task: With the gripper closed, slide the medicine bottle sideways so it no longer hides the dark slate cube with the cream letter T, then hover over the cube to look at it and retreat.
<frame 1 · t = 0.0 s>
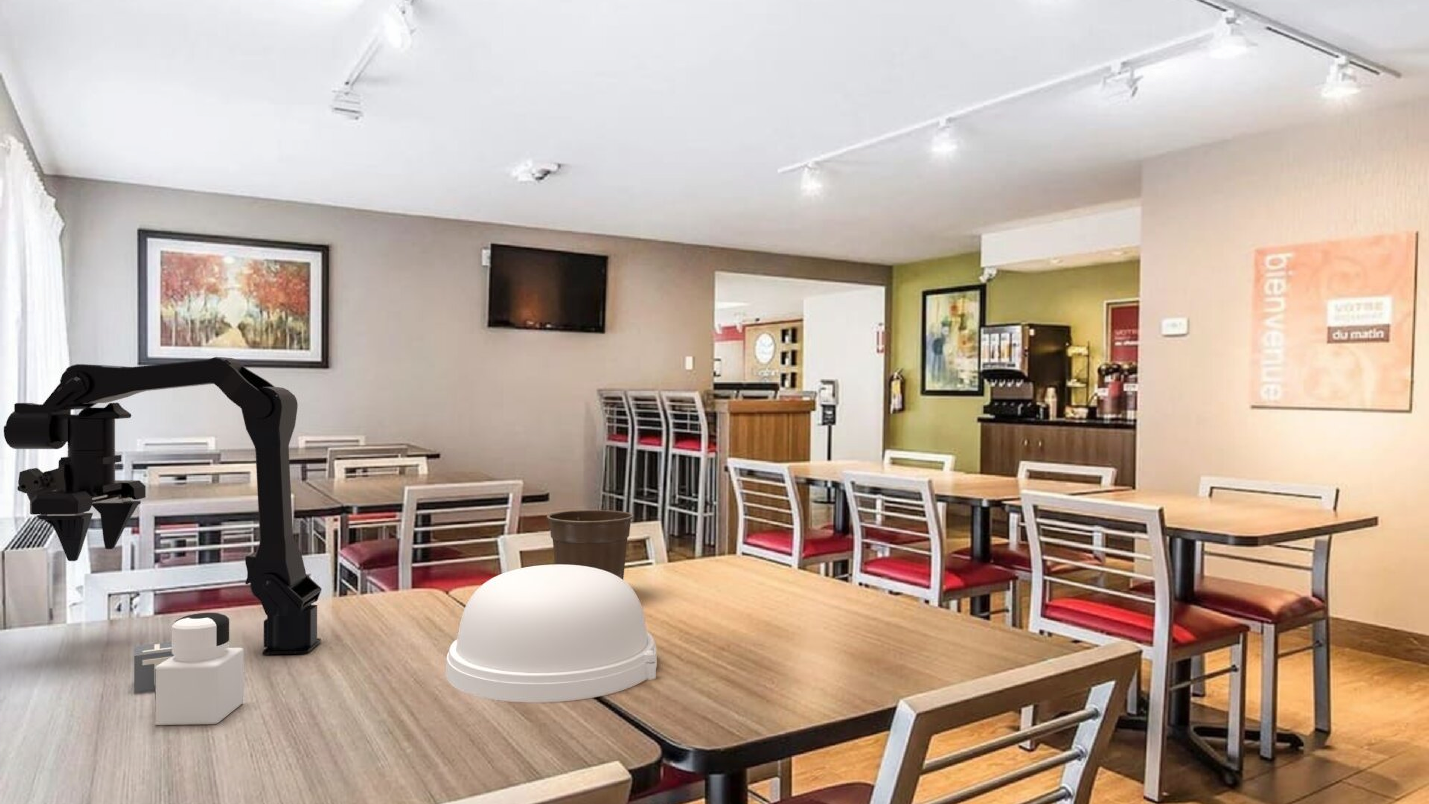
hand: (91, 554, 129), 15 cm above the table, fingers open, 9 cm apart
lettered cube: (157, 685, 117), on the table
dome cover: (553, 668, 126), on the table
medicine bottle: (200, 716, 106), on the table
plant pot: (589, 600, 166), on the table
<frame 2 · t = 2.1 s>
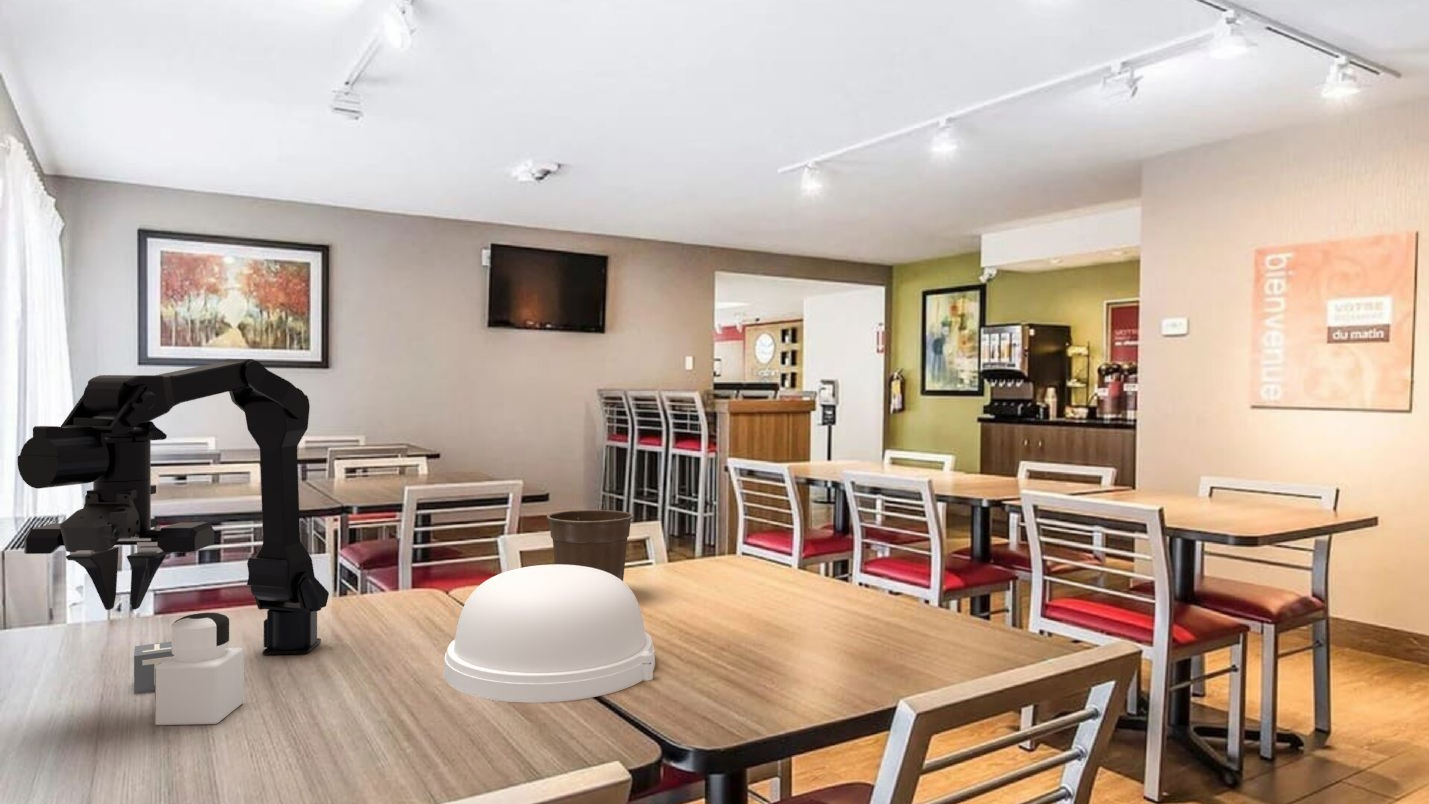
hand: (122, 609, 105), 13 cm above the table, fingers open, 3 cm apart
nothing on the table moved.
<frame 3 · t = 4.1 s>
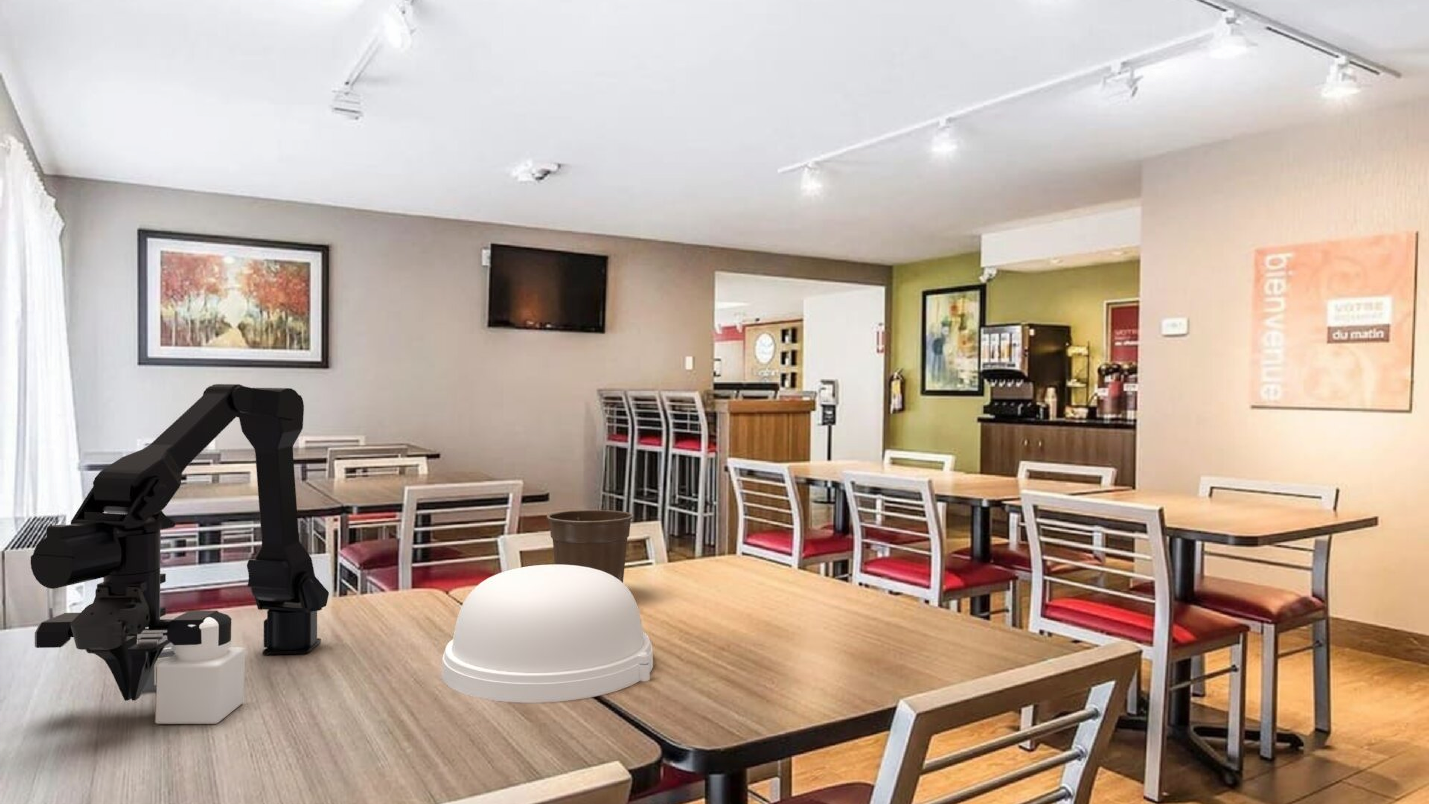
hand: (132, 699, 105), 2 cm above the table, fingers closed
medicine bottle: (200, 715, 106), on the table, touching gripper
everything else where it was.
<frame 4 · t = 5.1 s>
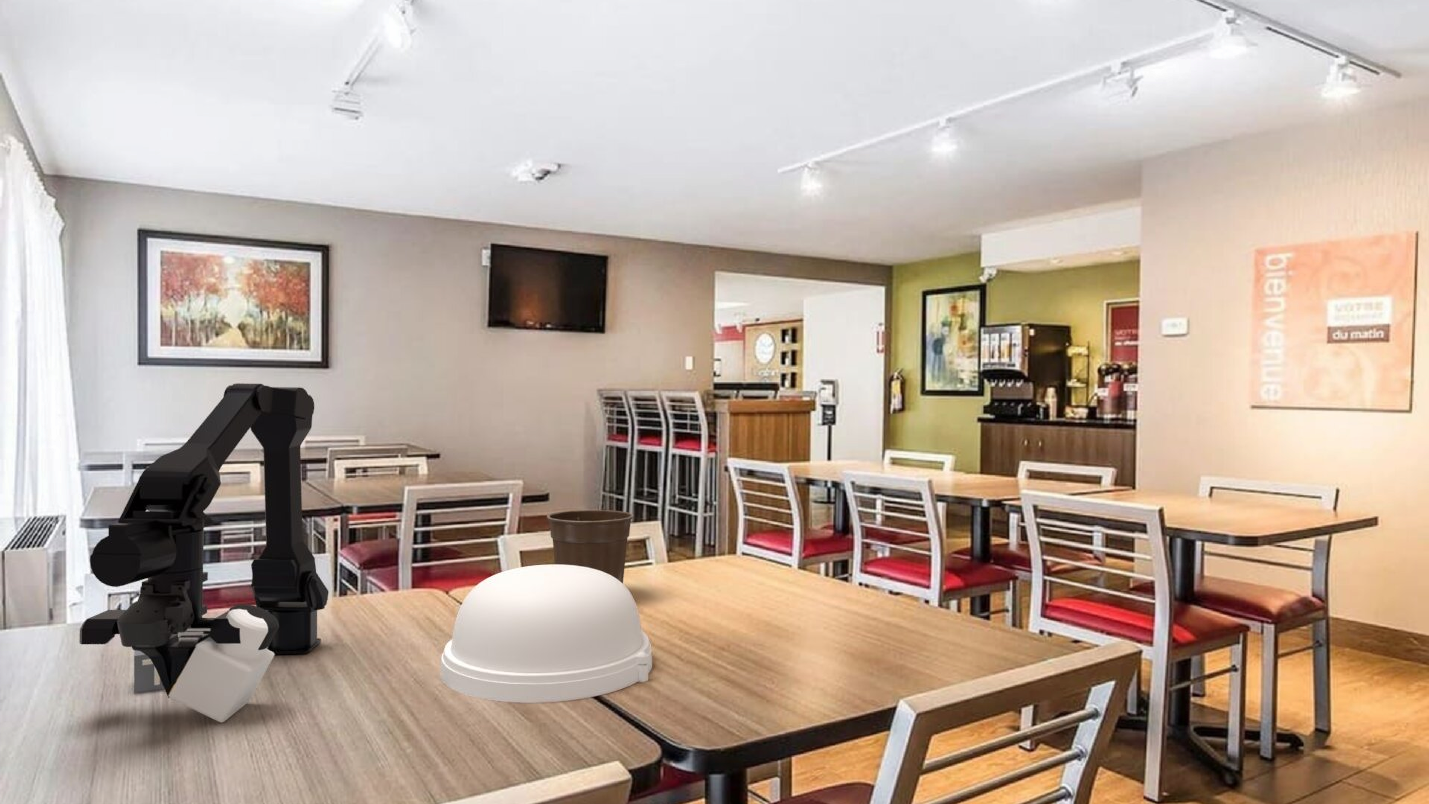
hand: (173, 697, 106), 2 cm above the table, fingers closed, pressing on medicine bottle
medicine bottle: (208, 701, 106), point 2 cm above the table, touching gripper
everything else where it was.
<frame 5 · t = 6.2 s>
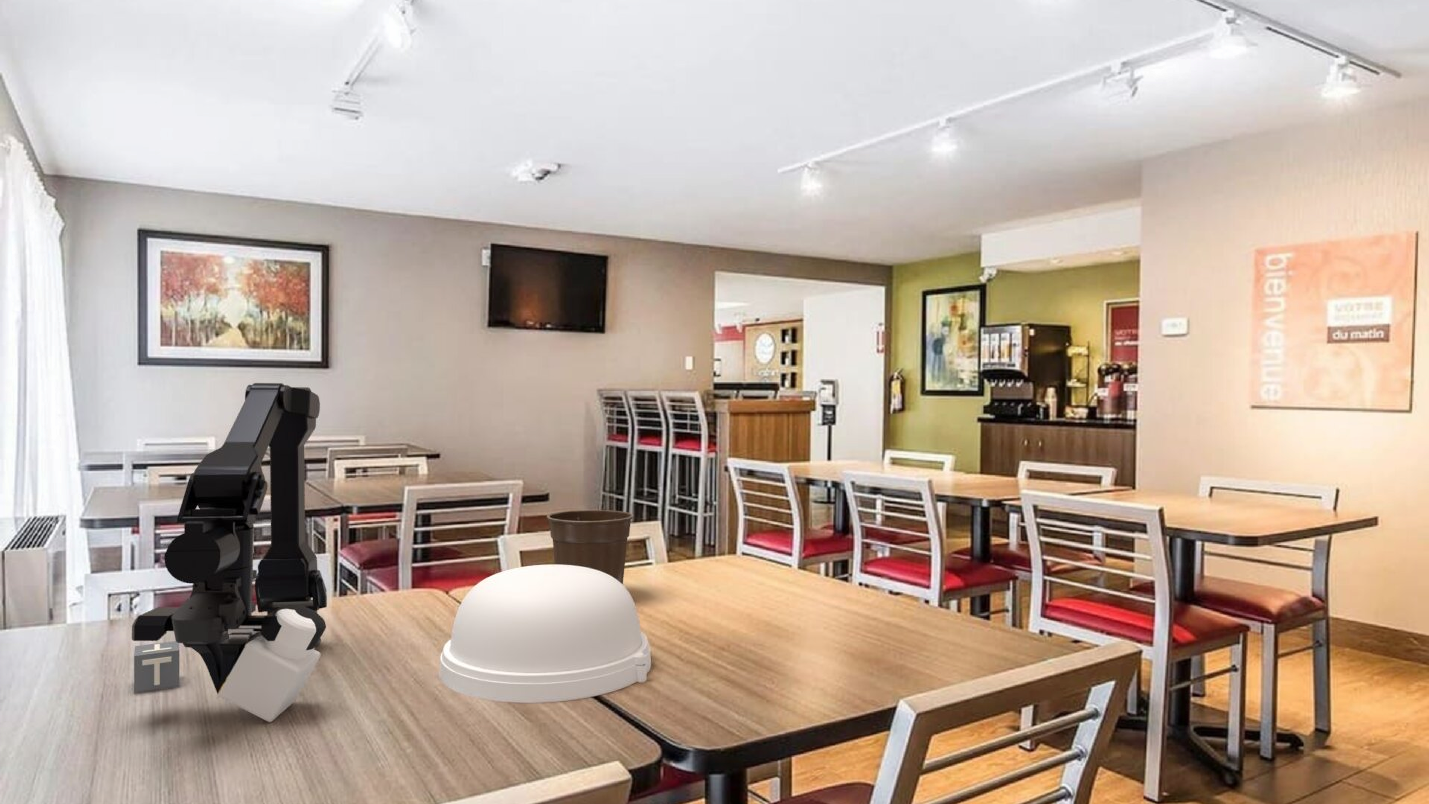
hand: (222, 694, 106), 2 cm above the table, fingers closed, pressing on medicine bottle
medicine bottle: (255, 700, 107), point 2 cm above the table, touching gripper
everything else where it was.
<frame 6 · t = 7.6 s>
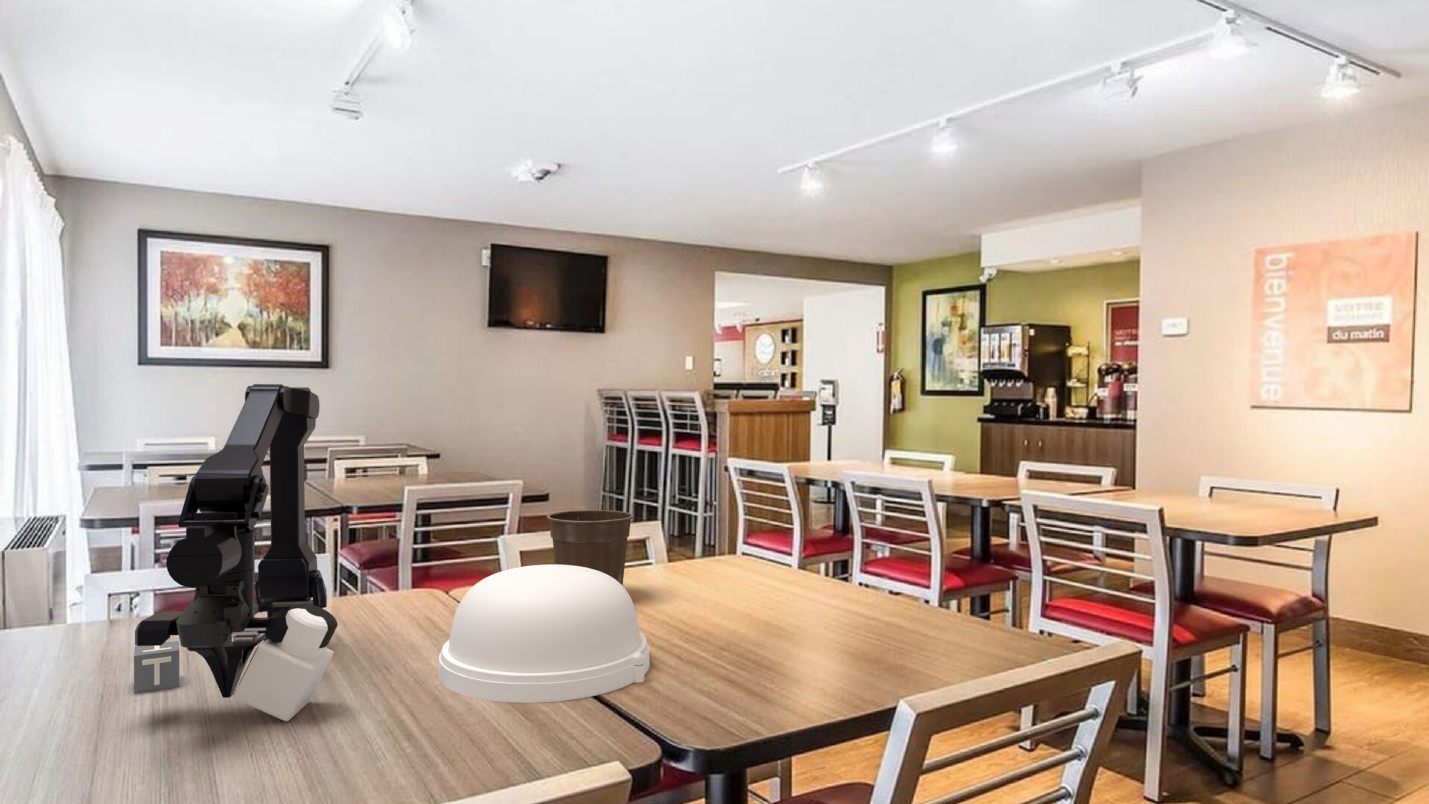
hand: (228, 696, 107), 2 cm above the table, fingers closed
medicine bottle: (271, 701, 107), point 1 cm above the table
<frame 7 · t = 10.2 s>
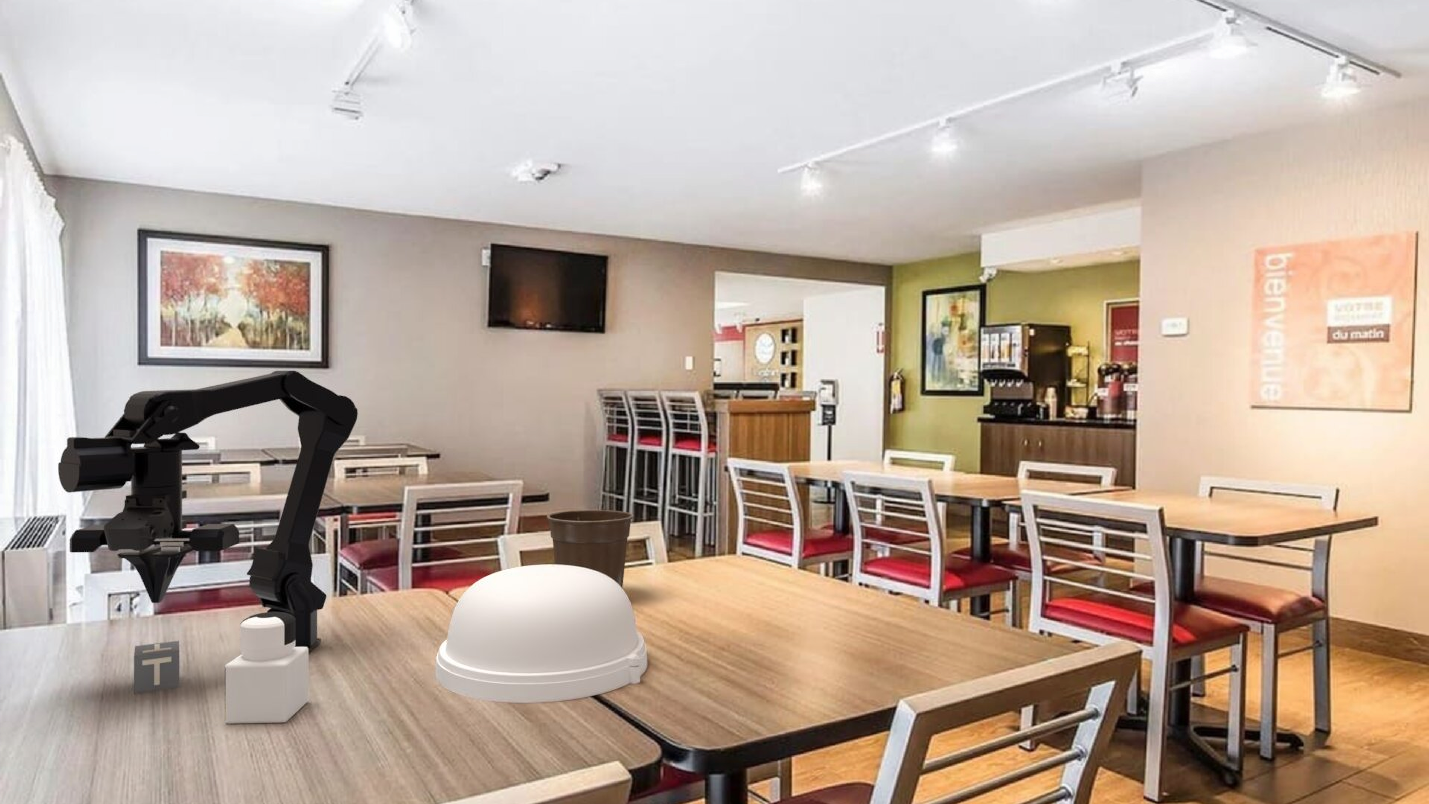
hand: (157, 602, 116), 11 cm above the table, fingers closed
medicine bottle: (268, 714, 107), on the table
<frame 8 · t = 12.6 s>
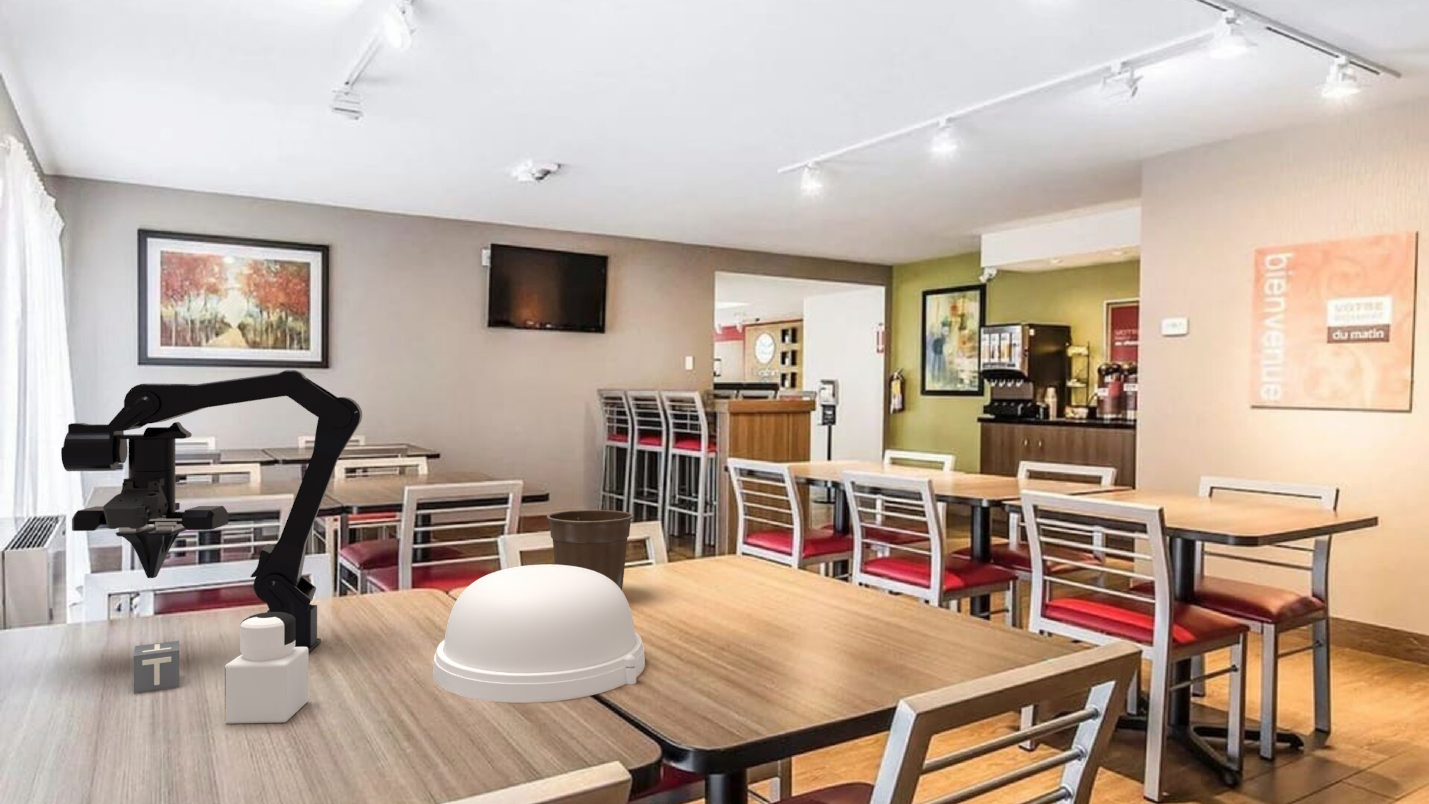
hand: (152, 577, 127), 12 cm above the table, fingers closed
at the end: medicine bottle inside the target area (1.9 cm from its centre), on the table; medicine bottle tilted 0°; lettered cube moved 0.1 cm from its start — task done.
